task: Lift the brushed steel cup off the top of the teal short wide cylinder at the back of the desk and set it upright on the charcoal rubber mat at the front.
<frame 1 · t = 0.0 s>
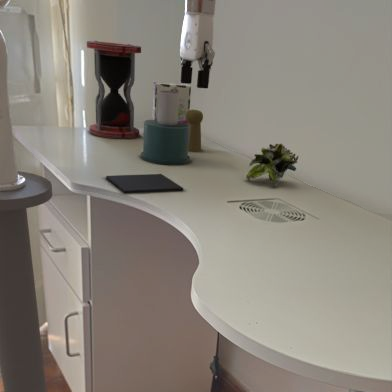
hand: (193, 85, 128), 18 cm above the table, tool pointing down, fingers open, 9 cm apart
leafy green plant: (270, 184, 119), on the table
steel cup: (167, 123, 125), point 9 cm above the table, touching teal short wide cylinder
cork: (191, 150, 144), on the table
hourglass: (114, 134, 154), on the table
mat: (144, 184, 107), on the table
teal short wide cylinder: (165, 159, 130), on the table
candy bar box: (169, 141, 152), on the table
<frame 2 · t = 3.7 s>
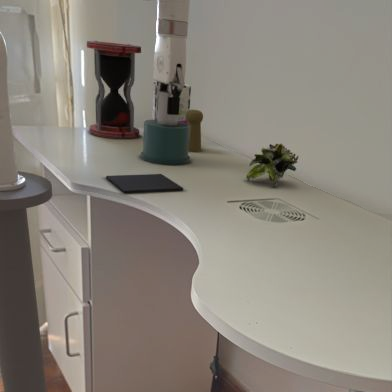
hand: (167, 111, 124), 12 cm above the table, tool pointing down, fingers closed on steel cup, 5 cm apart
steel cup: (167, 123, 125), point 9 cm above the table, touching teal short wide cylinder, gripper
everything else where it was.
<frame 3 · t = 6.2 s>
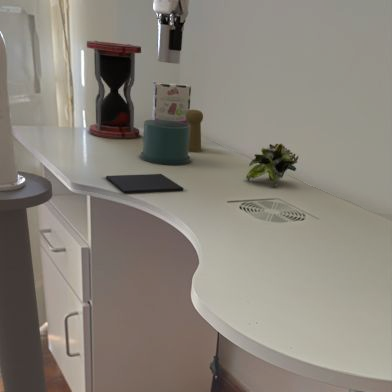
hand: (169, 48, 114), 26 cm above the table, tool pointing down, fingers closed on steel cup, 5 cm apart
steel cup: (168, 62, 116), point 23 cm above the table, touching gripper
everything else where it was.
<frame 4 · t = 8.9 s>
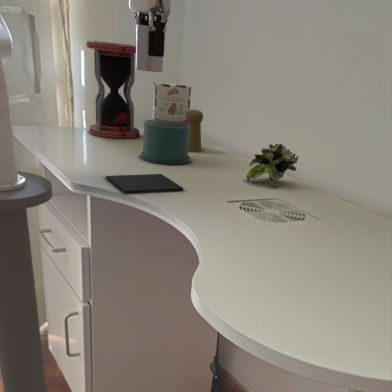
hand: (149, 53, 94), 25 cm above the table, tool pointing down, fingers closed on steel cup, 5 cm apart
steel cup: (149, 70, 95), point 23 cm above the table, touching gripper
everything else where it was.
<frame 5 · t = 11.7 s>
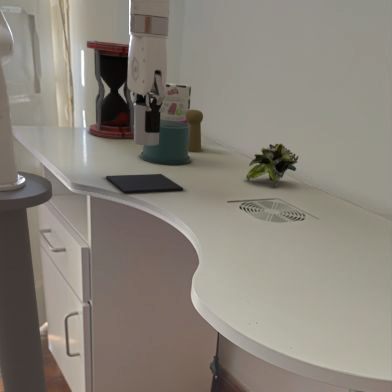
hand: (146, 128, 101), 12 cm above the table, tool pointing down, fingers closed on steel cup, 5 cm apart
steel cup: (146, 143, 102), point 9 cm above the table, touching gripper
everything else where it was.
when the fingers open (3 cm above the table, at t = 14.1 s): steel cup stays where it is, resting on mat.
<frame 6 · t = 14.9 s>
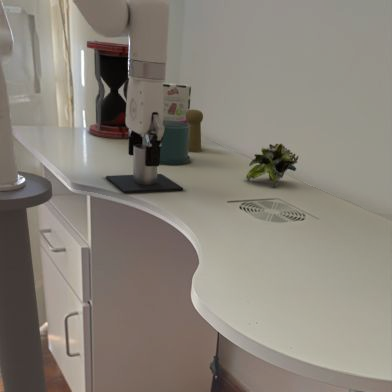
hand: (143, 160, 104), 5 cm above the table, tool pointing down, fingers open, 9 cm apart
steel cup: (144, 181, 107), point 1 cm above the table, touching mat
everything else where it was.
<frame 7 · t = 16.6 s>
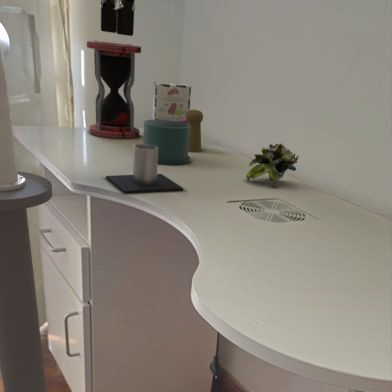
hand: (116, 33, 93), 28 cm above the table, tool pointing down, fingers open, 9 cm apart
nothing on the table moved.
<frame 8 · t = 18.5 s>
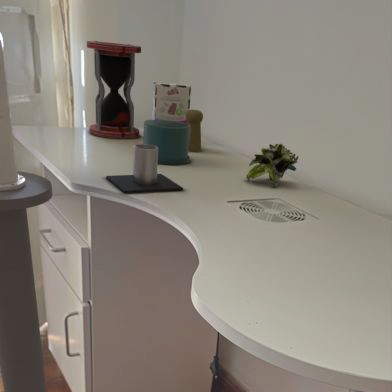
nothing on the table moved.
at the end: steel cup inside the target area on the mat (0.2 cm from its centre), point 0.6 cm above the mat's base; steel cup tilted 0°; steel cup touching mat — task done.
